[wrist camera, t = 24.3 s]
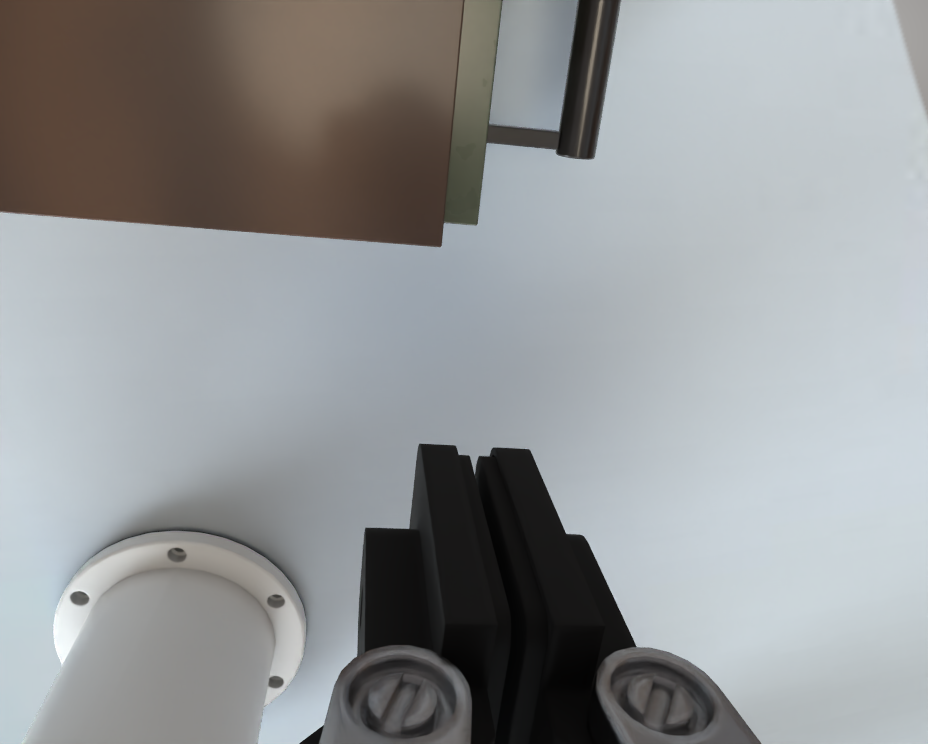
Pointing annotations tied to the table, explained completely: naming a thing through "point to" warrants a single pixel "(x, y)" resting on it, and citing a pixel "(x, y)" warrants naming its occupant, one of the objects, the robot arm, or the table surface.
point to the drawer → (475, 131)
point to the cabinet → (232, 114)
